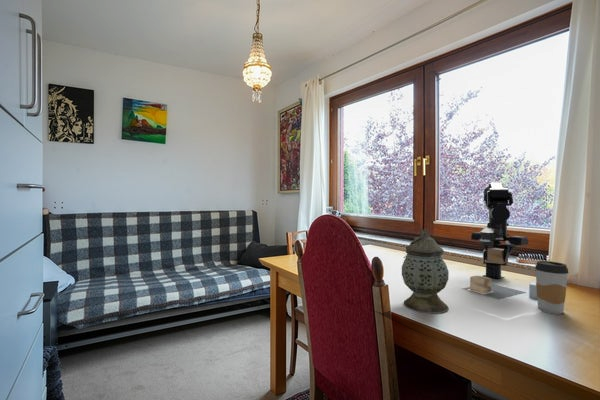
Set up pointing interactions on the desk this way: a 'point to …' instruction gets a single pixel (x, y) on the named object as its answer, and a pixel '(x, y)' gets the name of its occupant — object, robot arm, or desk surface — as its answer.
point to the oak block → (480, 284)
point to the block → (532, 290)
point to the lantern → (425, 275)
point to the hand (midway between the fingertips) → (497, 260)
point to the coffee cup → (551, 286)
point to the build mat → (499, 292)
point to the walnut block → (495, 255)
